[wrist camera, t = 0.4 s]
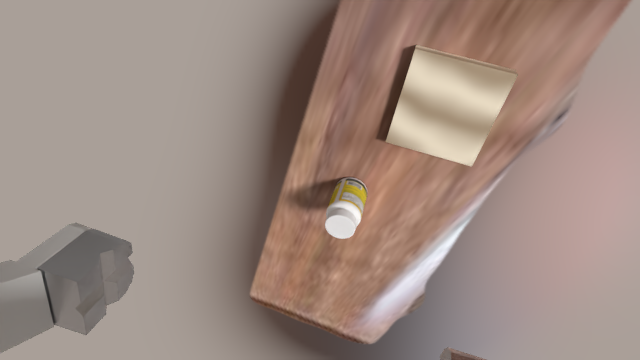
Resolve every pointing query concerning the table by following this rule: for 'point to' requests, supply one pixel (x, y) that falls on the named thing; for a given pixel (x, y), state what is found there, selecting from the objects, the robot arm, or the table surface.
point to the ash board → (448, 104)
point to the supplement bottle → (345, 207)
